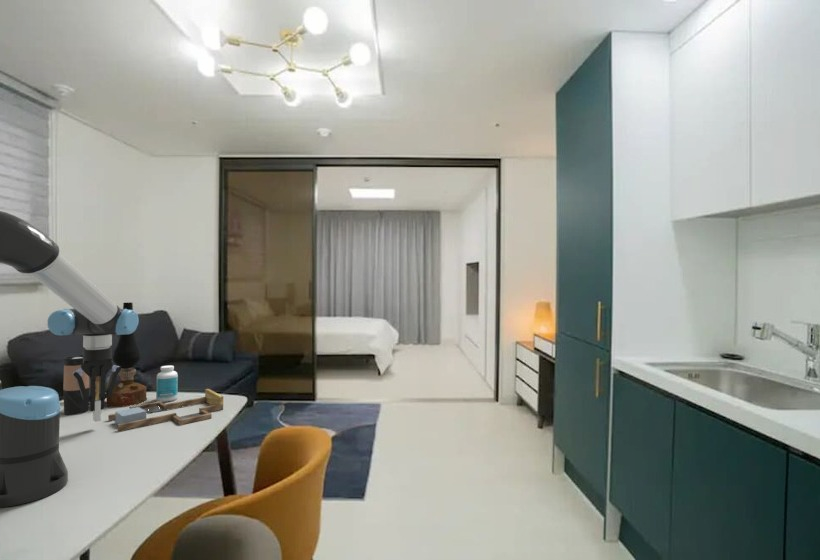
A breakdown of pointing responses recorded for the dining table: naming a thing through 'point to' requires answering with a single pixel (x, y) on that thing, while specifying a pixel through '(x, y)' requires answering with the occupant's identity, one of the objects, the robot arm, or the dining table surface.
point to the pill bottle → (167, 384)
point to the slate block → (130, 415)
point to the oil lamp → (127, 371)
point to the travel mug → (74, 387)
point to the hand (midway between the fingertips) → (96, 420)
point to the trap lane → (203, 414)
